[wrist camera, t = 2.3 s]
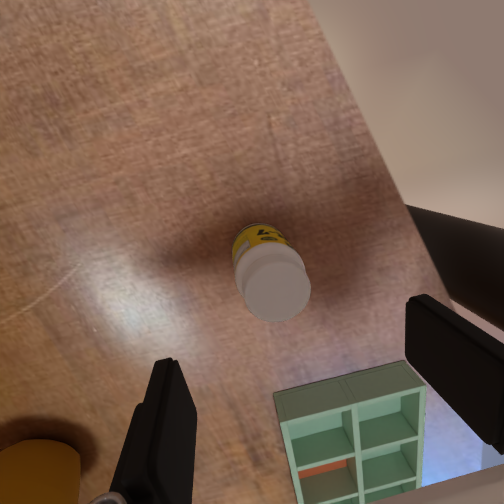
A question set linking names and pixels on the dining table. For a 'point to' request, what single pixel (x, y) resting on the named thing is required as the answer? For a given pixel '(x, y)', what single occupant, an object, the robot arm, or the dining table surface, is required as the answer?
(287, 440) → the tray
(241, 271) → the supplement bottle
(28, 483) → the apple
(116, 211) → the dining table surface
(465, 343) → the robot arm
